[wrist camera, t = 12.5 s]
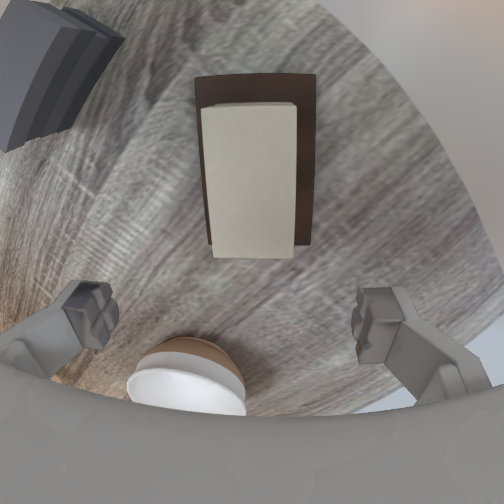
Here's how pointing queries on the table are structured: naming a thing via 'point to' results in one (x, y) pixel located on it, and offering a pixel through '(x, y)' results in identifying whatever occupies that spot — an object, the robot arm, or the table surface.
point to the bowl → (188, 378)
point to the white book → (251, 179)
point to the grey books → (47, 68)
